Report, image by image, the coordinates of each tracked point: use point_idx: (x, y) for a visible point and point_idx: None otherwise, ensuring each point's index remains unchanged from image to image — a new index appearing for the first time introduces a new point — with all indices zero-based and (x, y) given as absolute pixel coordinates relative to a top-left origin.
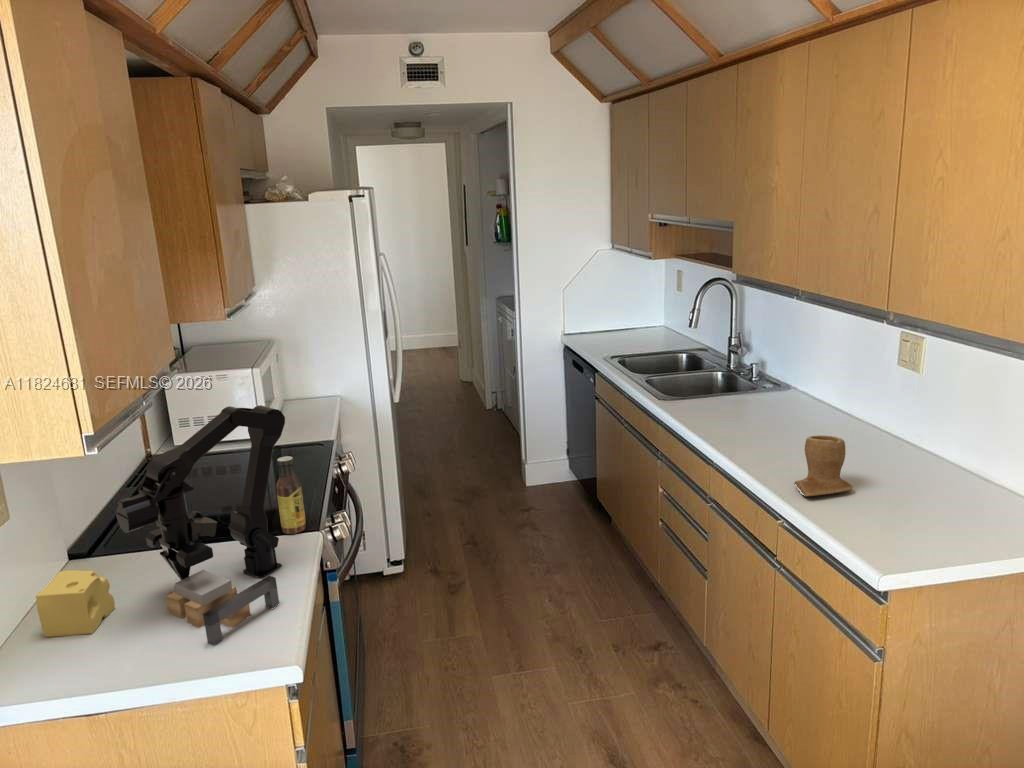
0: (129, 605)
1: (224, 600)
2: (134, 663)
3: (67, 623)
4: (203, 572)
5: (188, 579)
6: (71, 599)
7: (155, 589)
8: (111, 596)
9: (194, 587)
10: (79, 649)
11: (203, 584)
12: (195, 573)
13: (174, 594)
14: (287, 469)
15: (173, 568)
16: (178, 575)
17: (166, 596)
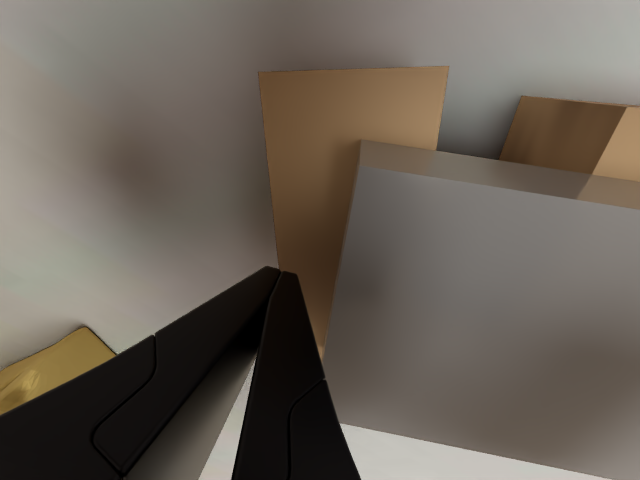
0: (101, 297)
1: None
2: (434, 475)
3: None
4: (424, 218)
5: (372, 357)
6: None
7: (33, 170)
8: (42, 375)
9: (542, 434)
10: (235, 458)
11: (611, 396)
12: (342, 261)
13: (320, 354)
14: None
15: (197, 475)
16: (248, 368)
17: None
